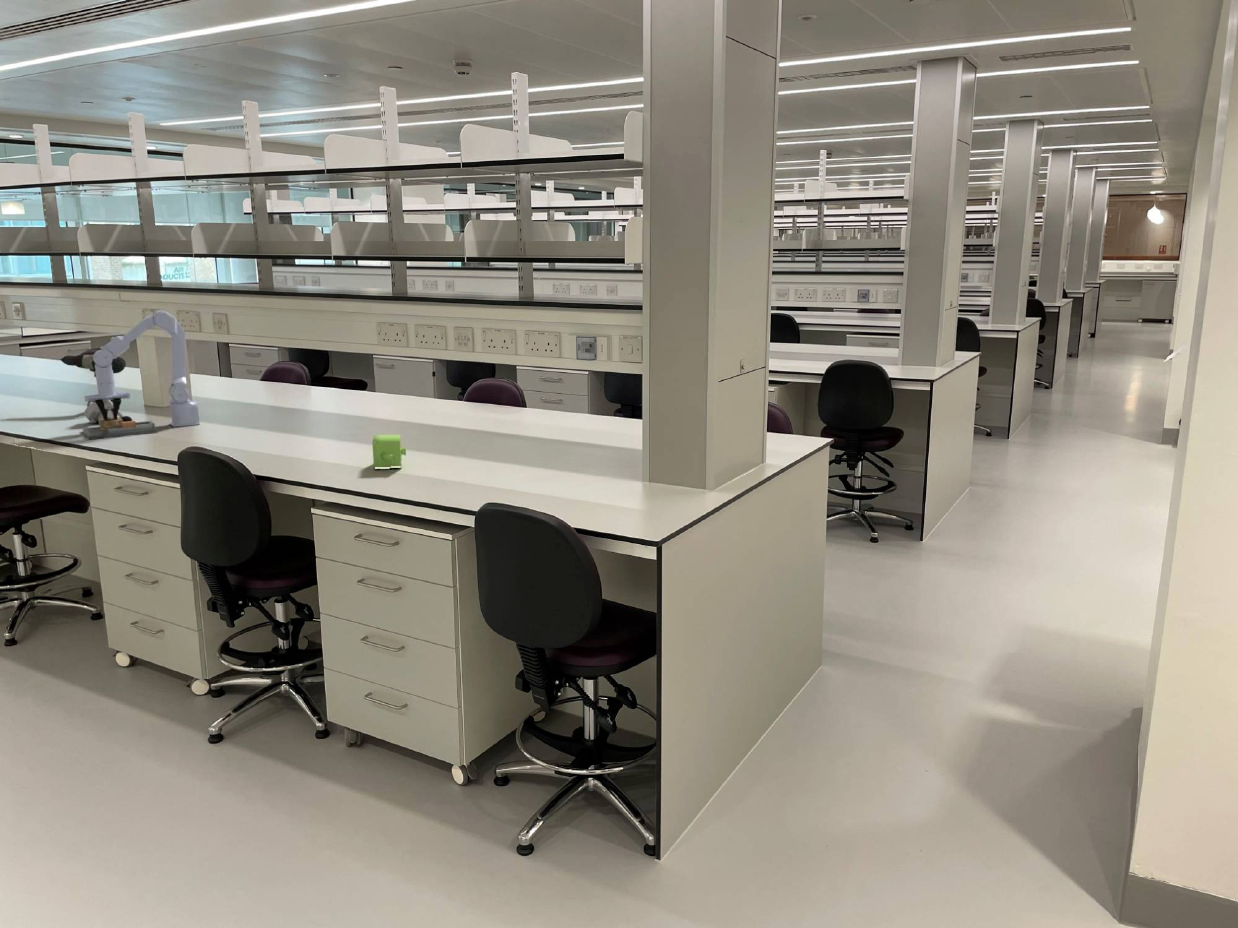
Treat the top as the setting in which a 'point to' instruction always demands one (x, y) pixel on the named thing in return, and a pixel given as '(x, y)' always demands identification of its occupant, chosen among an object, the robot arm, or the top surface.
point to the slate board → (120, 430)
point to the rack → (110, 423)
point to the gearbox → (387, 450)
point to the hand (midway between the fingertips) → (110, 419)
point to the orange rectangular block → (128, 424)
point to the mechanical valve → (95, 414)
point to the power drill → (93, 364)
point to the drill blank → (109, 414)
